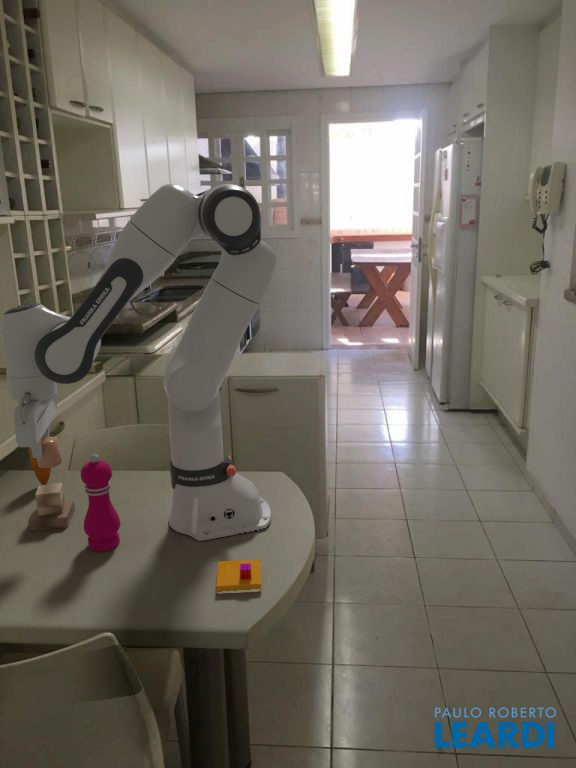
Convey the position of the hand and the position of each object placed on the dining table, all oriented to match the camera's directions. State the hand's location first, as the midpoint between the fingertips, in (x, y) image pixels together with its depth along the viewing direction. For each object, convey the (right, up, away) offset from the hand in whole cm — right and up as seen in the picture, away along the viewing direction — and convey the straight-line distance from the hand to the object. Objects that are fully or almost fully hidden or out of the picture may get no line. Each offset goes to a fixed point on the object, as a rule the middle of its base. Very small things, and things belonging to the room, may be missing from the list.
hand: (41, 451), depth 128 cm
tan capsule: (+1, -3, +1) cm, 3 cm away
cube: (-2, -14, +12) cm, 18 cm away
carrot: (-11, -12, +29) cm, 33 cm away
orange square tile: (+41, -23, -11) cm, 49 cm away
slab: (-2, -17, +12) cm, 21 cm away
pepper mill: (+12, -20, +2) cm, 23 cm away
